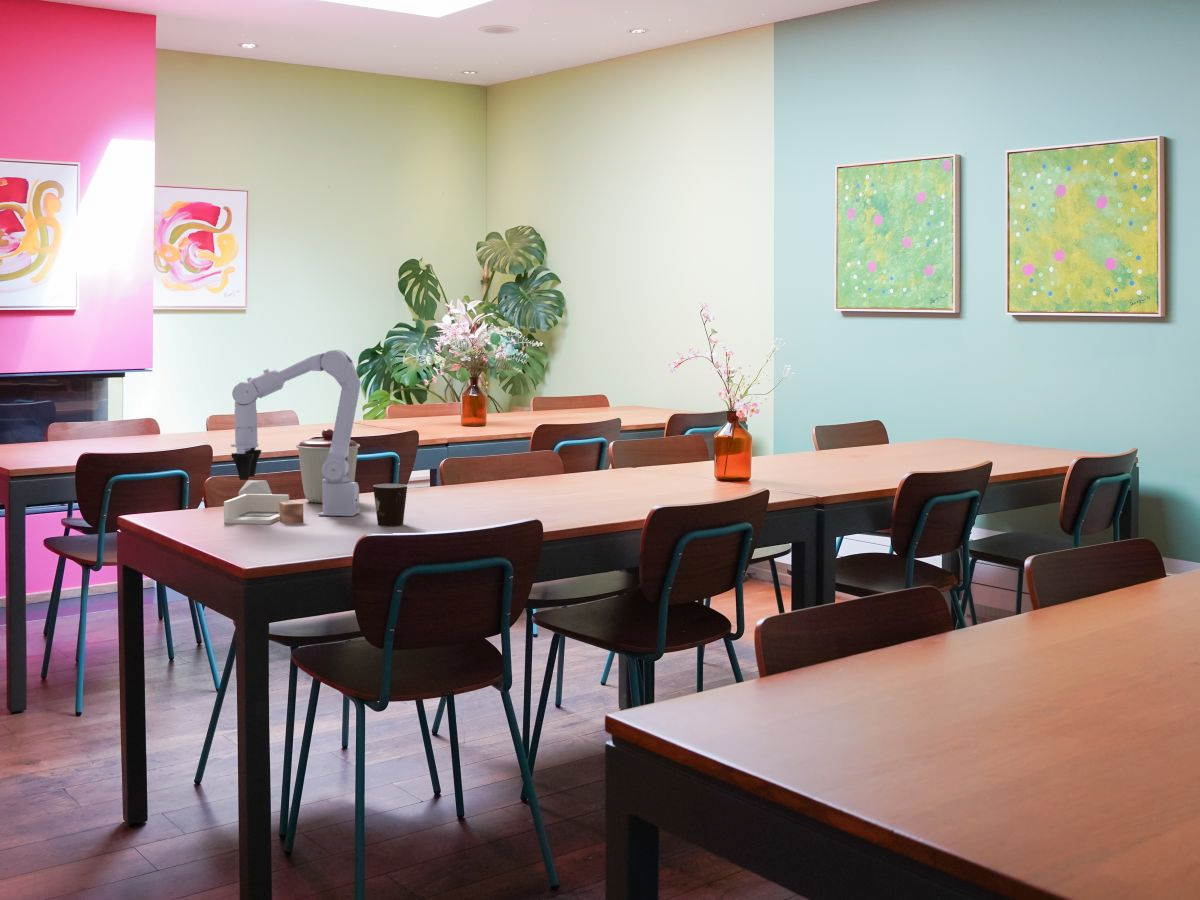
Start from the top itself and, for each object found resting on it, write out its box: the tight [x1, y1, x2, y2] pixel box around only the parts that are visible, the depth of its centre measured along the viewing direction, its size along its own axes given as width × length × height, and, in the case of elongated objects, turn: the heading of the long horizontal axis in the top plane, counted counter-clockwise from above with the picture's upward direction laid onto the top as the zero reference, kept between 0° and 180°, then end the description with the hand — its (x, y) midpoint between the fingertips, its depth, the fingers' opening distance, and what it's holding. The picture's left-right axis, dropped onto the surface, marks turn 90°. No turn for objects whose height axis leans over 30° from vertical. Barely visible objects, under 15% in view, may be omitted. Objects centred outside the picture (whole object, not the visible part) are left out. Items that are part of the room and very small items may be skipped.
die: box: [237, 479, 273, 496], centre depth 345 cm, size 8×9×10 cm
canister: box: [295, 428, 361, 504], centre depth 362 cm, size 18×18×21 cm
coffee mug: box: [372, 483, 408, 527], centre depth 319 cm, size 12×9×10 cm
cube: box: [279, 500, 305, 524], centre depth 324 cm, size 5×5×5 cm
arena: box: [223, 493, 290, 525], centre depth 328 cm, size 12×16×6 cm
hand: (247, 478), depth 335 cm, fingers open, 7 cm apart
